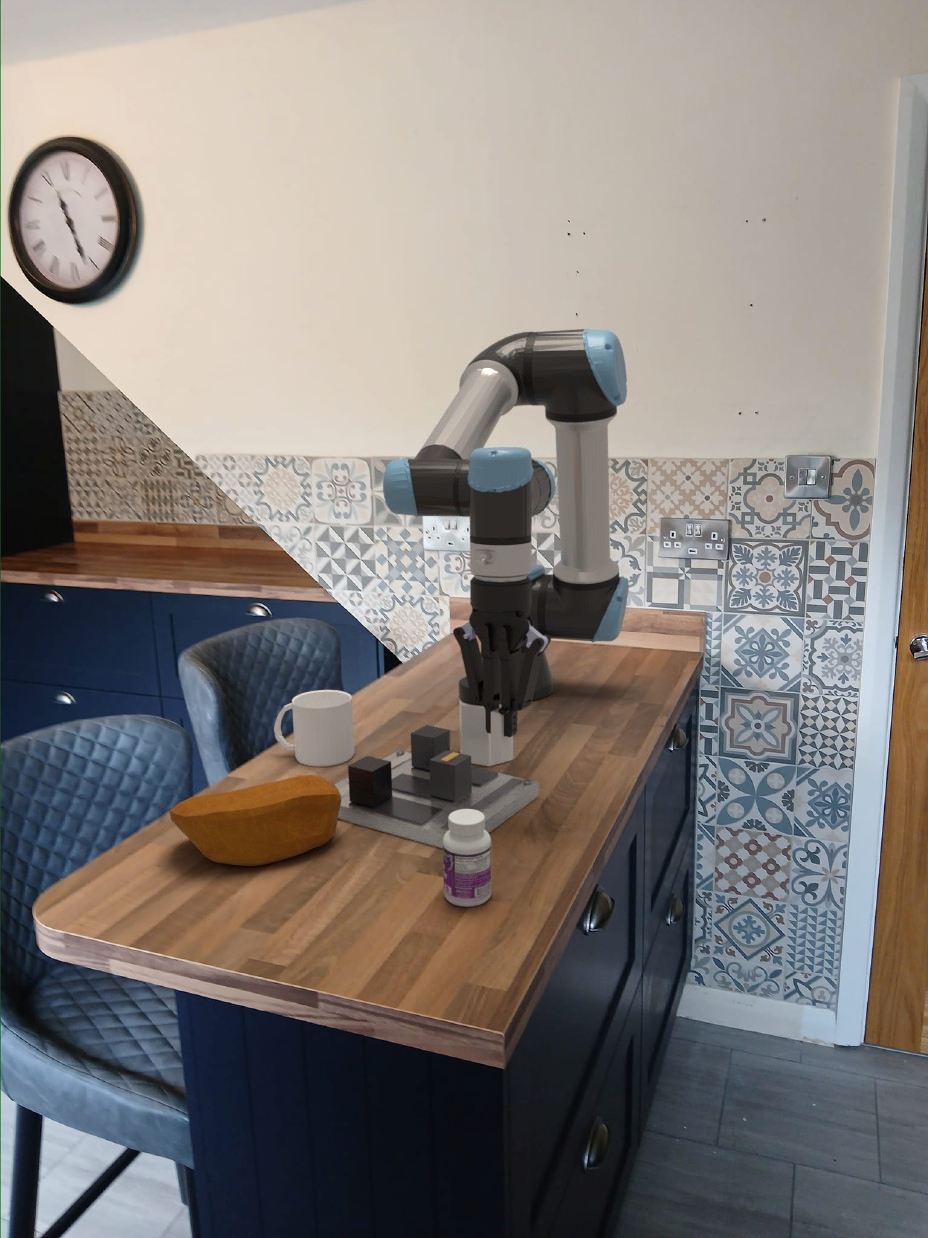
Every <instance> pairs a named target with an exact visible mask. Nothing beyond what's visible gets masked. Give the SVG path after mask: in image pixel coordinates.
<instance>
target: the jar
mask: <svg viewBox="0 0 928 1238" xmlns="http://www.w3.org/2000/svg"><path fill="white" fill-rule="evenodd" d="M458 706H459V707H458V708H459V709H458V710H459V713H458V715H459V753H461V754H465V755H470V756H471V765H476V766H477V765H479V766H484V767H493V766H496V765H499V764H503V763H507V762H511V761H513V760H514V736H512V757H510V758H509V759H507V760H505V761H504V762H502V763H499V762H494V761H491V734H490V733H487V731H486V712H485V708H484V706H483V705H481V704H479V703H474V702H473V701H472V699H471V695H470V690H469V686H468V681H467V676H465V677H462V678H461V679H460V680H459V681H458ZM499 707H501V704H500V705H499Z"/></svg>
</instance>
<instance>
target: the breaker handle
mask: <svg viewBox="0 0 928 1238" xmlns="http://www.w3.org/2000/svg"><path fill="white" fill-rule="evenodd" d="M429 764H430V795H431V796H435V797H439V798H443V799H447V800H451V801H455V802H456V801H457V800H459V799H460V798H462V797H463V796H465V795H466V794H468V793H469V792H471V791H472V773H471V767H472V764H471V756H470V755H465V754H461V753H460V752H454V751H451V750H450V751H447V750H446V751H444V752H442V753H441V754H439V755H437V756H435V757H434V758H432V759H430V760H429Z"/></svg>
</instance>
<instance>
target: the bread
mask: <svg viewBox="0 0 928 1238" xmlns="http://www.w3.org/2000/svg"><path fill="white" fill-rule="evenodd" d="M340 806H341V794H340V793H339V791H338V789H337V788H336V786H335V785H334V783H333V782H330V781H329V780H327V779H325V778H324V777H322V776H321V775H313V774H306V775H298V776H295V777H294V776H293V777H288V778H285V779H280V780H277V781H271V782H267V783H261V784H257V785H252V786H248V787H244V788H240V789H236V790H232V791H227V792H226V791H225V792H219V793H217V792H216V793H212V794H210V793H209V794H204V795H203V794H202V795H199V796H192V797H190V798H187V799H185V800H183V801H180V802H179V803H177V804H176V805H175V806H173V807H172V808H171V809H170V810H169V816H170V820H171V821H172V823H173V824H174V825H175V826H176V827H177V828H178V829H179V830H180V832H182V833H183V834H184V836H186V837H187V839H188V840H189V841H190V842H191V843H192V844H193V845H194V846H195V847H196V848H197V849H198V850H199V851H200V852H201V854H202V855H203V856H204V857H205V858H207V859H209V860H210V861H212V862H214V863H218V864H226V865H233V866H243V867H253V866H254V867H255V866H262V865H268V864H272V863H275V862H279V861H282V860H286V859H290V858H292V857H293V858H294V857H295V856H299V855H302V854H304V853H307V852H308V851H310V850H312V849H316V848H318V847H322V846H323V845H325V844H326V843H328V842H329V841H330V840H331V838H332V836H333V835H334V834H335V832H336V829H337V825H338V819H337V817H338V813H339V809H340Z"/></svg>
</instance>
